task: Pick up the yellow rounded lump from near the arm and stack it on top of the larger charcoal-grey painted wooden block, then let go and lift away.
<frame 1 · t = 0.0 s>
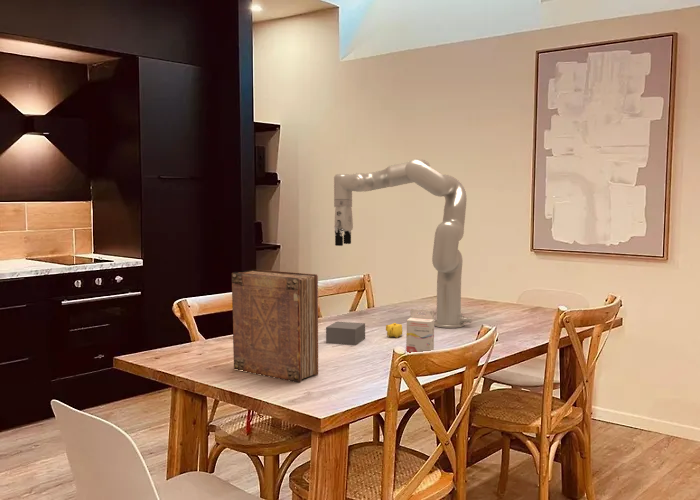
hand: (343, 244, 288), 31 cm above the table, tool pointing down, fingers open, 9 cm apart
book: (275, 373, 206), on the table
charcoal base block: (345, 341, 248), on the table
ink cartridge box: (420, 354, 228), on the table
yellow rounded lump: (393, 337, 255), on the table
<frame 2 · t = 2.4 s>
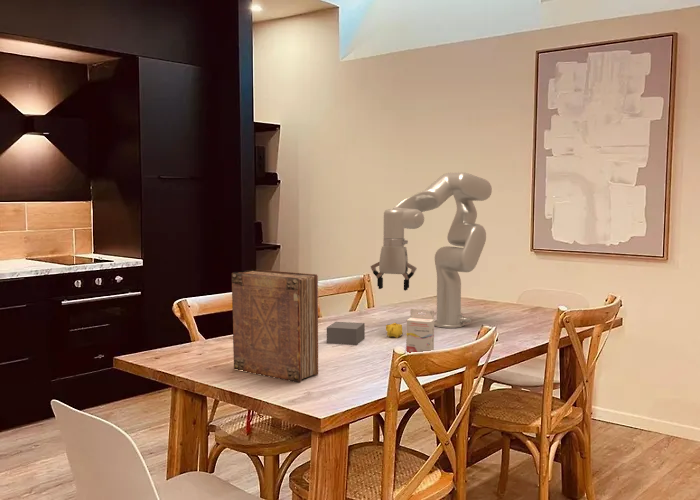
hand: (393, 289, 254), 18 cm above the table, tool pointing down, fingers open, 9 cm apart
nothing on the table moved.
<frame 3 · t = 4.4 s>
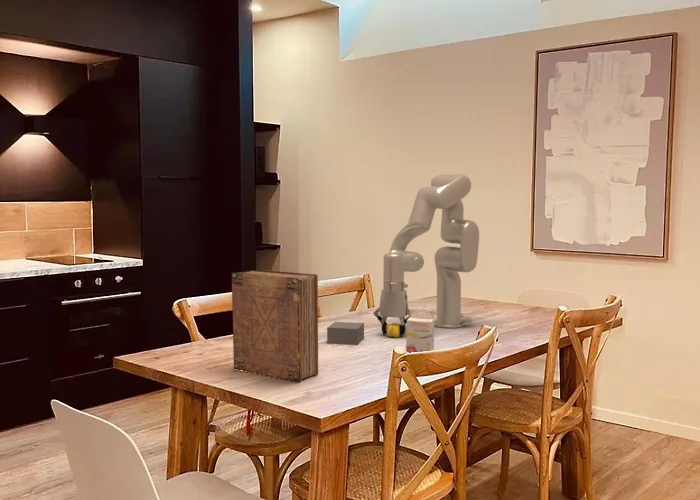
hand: (393, 334, 255), 1 cm above the table, tool pointing down, fingers closed on yellow rounded lump, 5 cm apart
yellow rounded lump: (393, 336, 255), on the table, touching gripper
everything else where it was.
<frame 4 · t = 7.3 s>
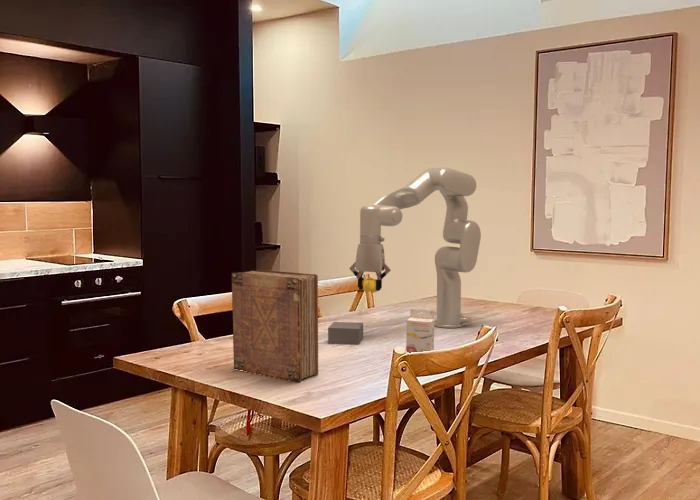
hand: (369, 289, 250), 18 cm above the table, tool pointing down, fingers closed on yellow rounded lump, 5 cm apart
yellow rounded lump: (369, 292, 250), point 17 cm above the table, touching gripper
everything else where it was.
when the fingers open (8 cm above the table, at t = 10.2 s): yellow rounded lump drops 1 cm, resting on charcoal base block.
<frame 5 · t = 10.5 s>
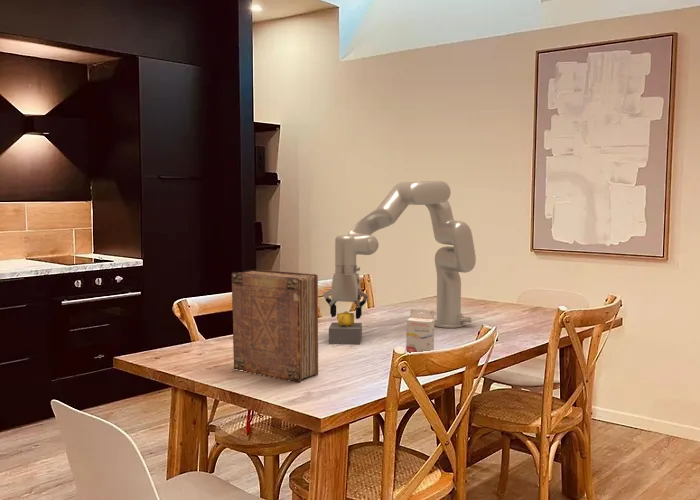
hand: (345, 317, 247), 9 cm above the table, tool pointing down, fingers open, 9 cm apart
charcoal base block: (345, 341, 248), on the table, touching yellow rounded lump
yellow rounded lump: (344, 326, 248), point 5 cm above the table, touching charcoal base block
everything else where it was.
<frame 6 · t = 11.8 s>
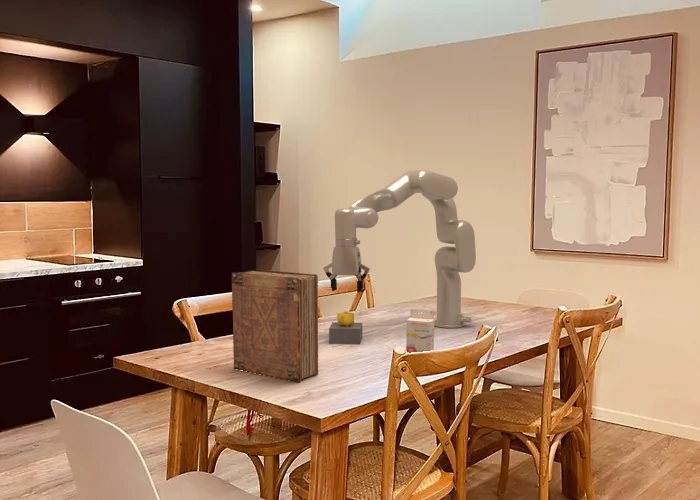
hand: (346, 290, 247), 18 cm above the table, tool pointing down, fingers open, 9 cm apart
nothing on the table moved.
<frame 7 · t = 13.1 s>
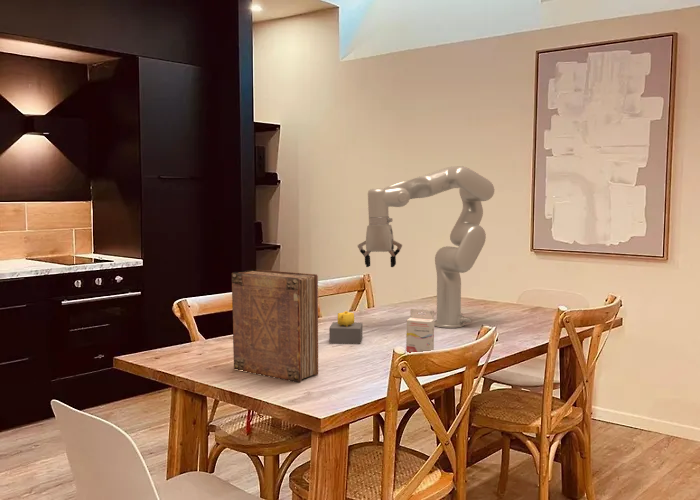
hand: (380, 266, 260), 25 cm above the table, tool pointing down, fingers open, 9 cm apart
nothing on the table moved.
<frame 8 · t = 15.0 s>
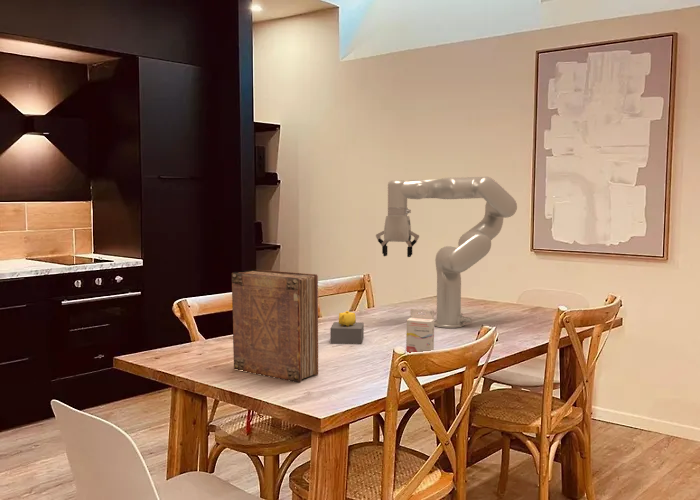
hand: (397, 256, 268), 28 cm above the table, tool pointing down, fingers open, 9 cm apart
nothing on the table moved.
at the end: yellow rounded lump inside the target area on the charcoal base block (0.5 cm from its centre), point 5.8 cm above the charcoal base block's base; yellow rounded lump tilted 1°; the gripper is holding nothing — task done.
